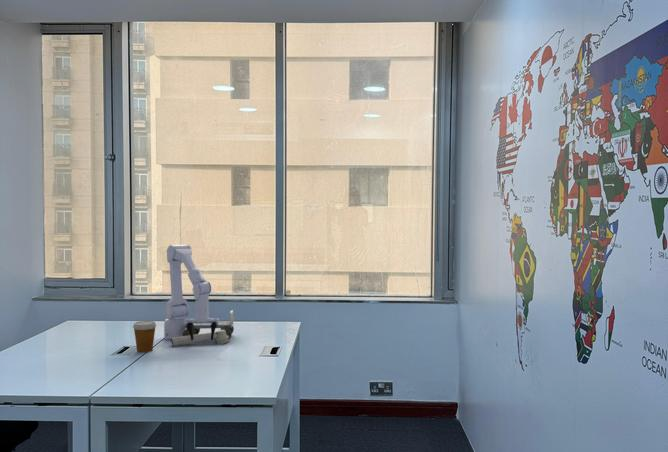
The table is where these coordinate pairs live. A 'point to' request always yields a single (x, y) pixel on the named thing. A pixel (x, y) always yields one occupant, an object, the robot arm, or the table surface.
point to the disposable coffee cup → (144, 335)
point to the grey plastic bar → (201, 338)
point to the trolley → (197, 326)
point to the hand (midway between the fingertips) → (202, 339)
